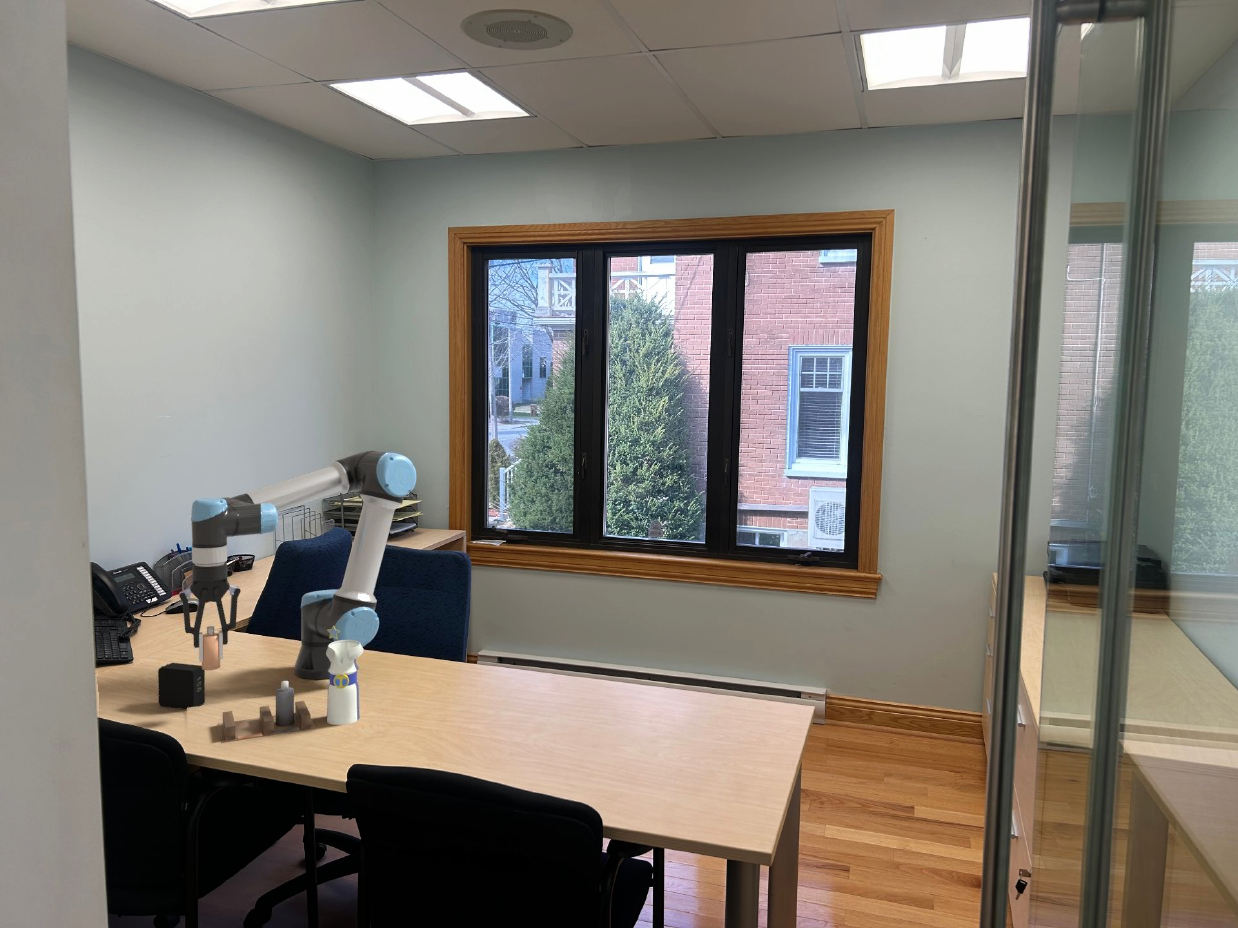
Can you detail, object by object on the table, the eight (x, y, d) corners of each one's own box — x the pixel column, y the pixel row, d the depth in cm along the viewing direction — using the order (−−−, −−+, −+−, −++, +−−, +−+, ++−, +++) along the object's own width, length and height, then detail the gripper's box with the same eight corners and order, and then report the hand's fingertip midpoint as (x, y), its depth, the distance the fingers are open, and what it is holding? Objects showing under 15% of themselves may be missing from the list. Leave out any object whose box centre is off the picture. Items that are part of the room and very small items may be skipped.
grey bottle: (292, 718, 199) (292, 678, 199) (295, 724, 196) (295, 683, 195) (274, 721, 197) (274, 680, 197) (276, 727, 194) (276, 685, 193)
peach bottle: (219, 664, 203) (219, 624, 203) (220, 668, 200) (220, 628, 199) (201, 666, 201) (200, 625, 201) (202, 671, 198) (201, 630, 197)
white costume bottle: (360, 728, 197) (360, 625, 195) (322, 730, 196) (322, 626, 194) (364, 715, 205) (365, 616, 203) (328, 716, 204) (329, 616, 202)
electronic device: (193, 710, 205) (193, 671, 204) (158, 706, 207) (157, 667, 206) (205, 704, 209) (204, 665, 209) (170, 700, 211) (170, 662, 210)
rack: (307, 714, 205) (307, 698, 204) (315, 732, 194) (315, 715, 194) (217, 727, 195) (217, 711, 195) (221, 747, 185) (221, 729, 184)
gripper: (246, 557, 206) (247, 650, 208) (169, 562, 198) (171, 658, 200) (249, 563, 199) (250, 658, 201) (170, 568, 191) (172, 668, 193)
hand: (210, 658), depth 200 cm, fingers closed on peach bottle, 4 cm apart
